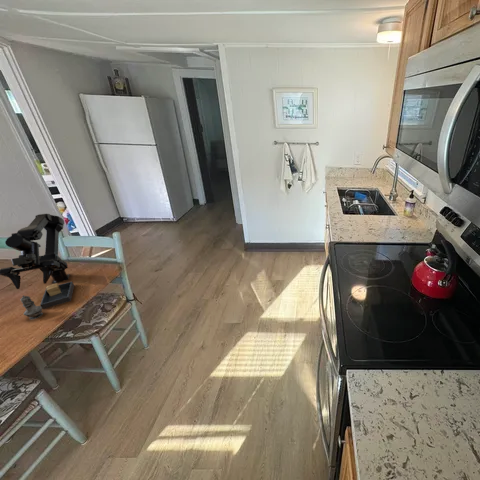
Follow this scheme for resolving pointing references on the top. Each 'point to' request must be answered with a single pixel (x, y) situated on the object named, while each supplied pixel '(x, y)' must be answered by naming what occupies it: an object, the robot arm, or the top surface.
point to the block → (53, 289)
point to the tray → (58, 296)
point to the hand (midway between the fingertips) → (31, 286)
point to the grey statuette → (31, 308)
